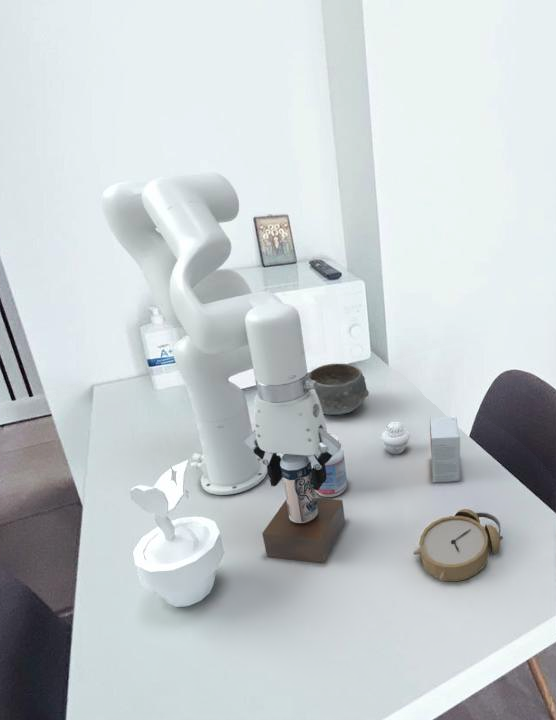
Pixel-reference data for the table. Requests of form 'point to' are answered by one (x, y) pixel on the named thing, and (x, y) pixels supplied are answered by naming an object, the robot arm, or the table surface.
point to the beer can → (299, 487)
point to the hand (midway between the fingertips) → (298, 482)
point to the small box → (445, 449)
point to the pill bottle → (334, 473)
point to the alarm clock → (458, 545)
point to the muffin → (395, 437)
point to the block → (305, 533)
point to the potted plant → (176, 544)
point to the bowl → (339, 388)
